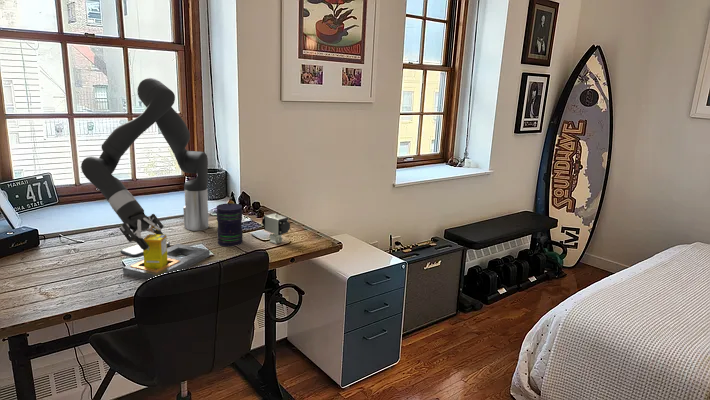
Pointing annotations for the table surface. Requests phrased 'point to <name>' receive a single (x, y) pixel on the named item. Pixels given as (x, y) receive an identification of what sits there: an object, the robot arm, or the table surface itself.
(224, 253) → the table surface
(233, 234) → the storage jar
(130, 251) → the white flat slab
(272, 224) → the pneumatic valve
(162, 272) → the hole rail
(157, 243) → the supplement box
